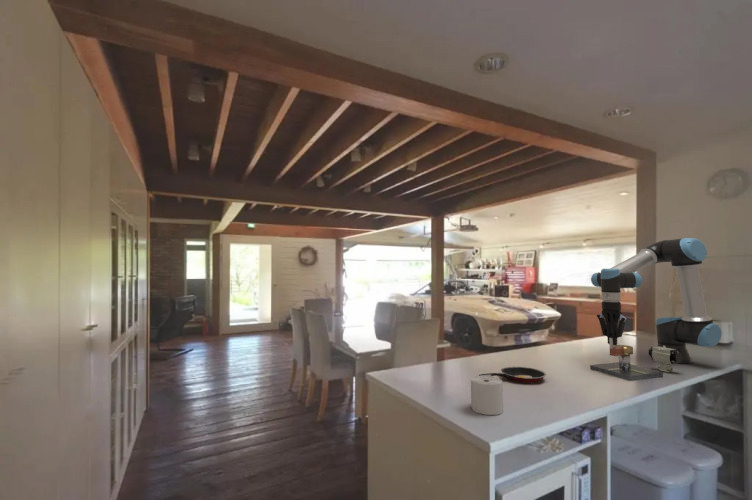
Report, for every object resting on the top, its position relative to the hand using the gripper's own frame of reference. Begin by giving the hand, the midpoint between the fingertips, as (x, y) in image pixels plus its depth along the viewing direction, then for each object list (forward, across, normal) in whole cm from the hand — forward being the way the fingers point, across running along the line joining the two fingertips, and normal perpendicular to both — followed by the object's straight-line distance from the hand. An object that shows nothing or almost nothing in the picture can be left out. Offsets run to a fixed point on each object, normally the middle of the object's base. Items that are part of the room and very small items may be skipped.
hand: (612, 351), depth 165 cm
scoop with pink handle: (+1, +2, +3) cm, 3 cm away
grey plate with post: (+10, +2, +6) cm, 12 cm away
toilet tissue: (+9, +5, -84) cm, 84 cm away
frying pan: (+11, -15, -50) cm, 53 cm away
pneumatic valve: (+11, +9, +25) cm, 29 cm away
